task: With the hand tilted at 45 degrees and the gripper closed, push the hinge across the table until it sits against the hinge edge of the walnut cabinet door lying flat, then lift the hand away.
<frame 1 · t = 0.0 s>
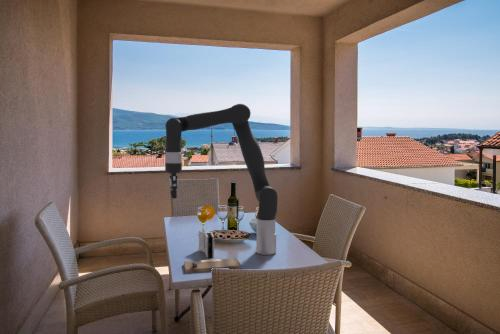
hand: (173, 196, 174), 29 cm above the table, tool pointing down, fingers open, 8 cm apart
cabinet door: (212, 266, 166), on the table
chinaware: (261, 233, 223), on the table
hinge: (206, 254, 184), on the table
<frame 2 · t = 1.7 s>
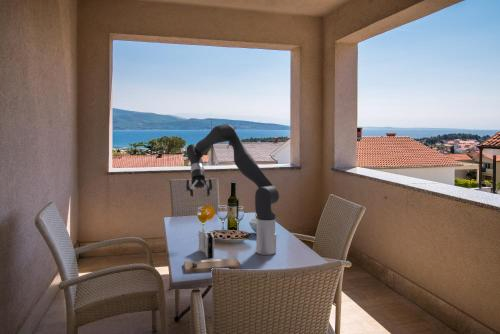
hand: (200, 195, 204), 25 cm above the table, tool tilted 45°, fingers open, 8 cm apart
nothing on the table moved.
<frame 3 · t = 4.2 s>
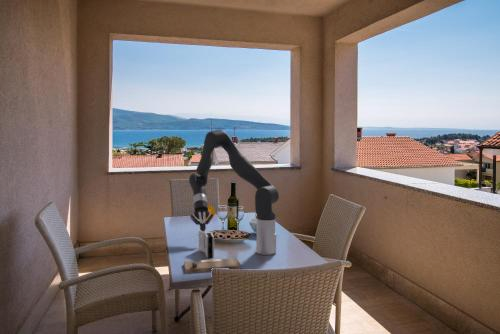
hand: (203, 230, 198), 8 cm above the table, tool tilted 45°, fingers closed
nothing on the table moved.
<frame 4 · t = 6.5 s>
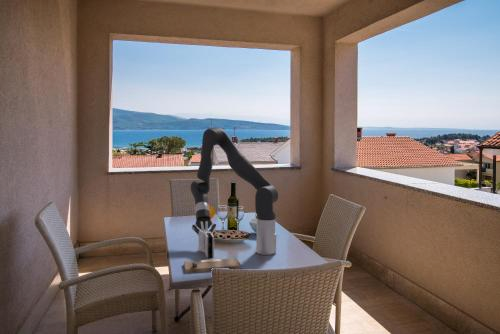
hand: (205, 241, 188), 5 cm above the table, tool tilted 45°, fingers closed
hinge: (206, 254, 184), on the table, touching gripper
everything else where it was.
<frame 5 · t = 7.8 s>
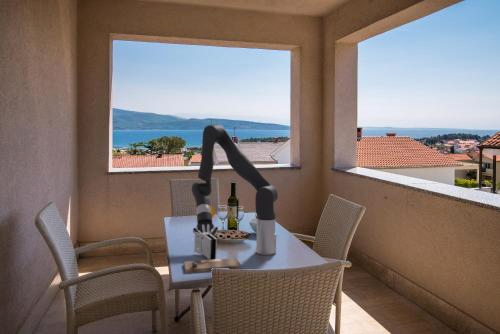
hand: (207, 245, 181), 5 cm above the table, tool tilted 45°, fingers closed
hinge: (205, 255, 180), on the table, touching gripper
everything else where it was.
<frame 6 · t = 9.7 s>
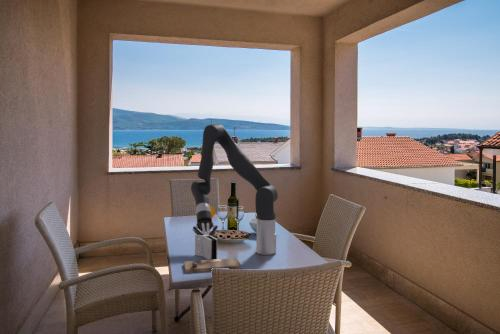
hand: (206, 243, 182), 5 cm above the table, tool tilted 45°, fingers closed
hinge: (206, 258, 178), on the table
everything else where it was.
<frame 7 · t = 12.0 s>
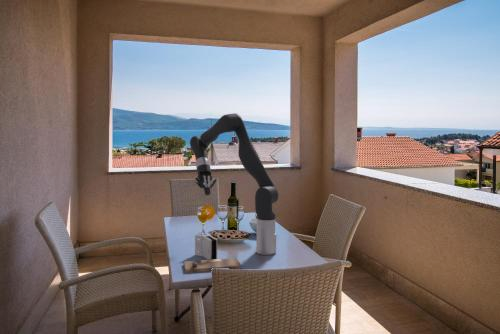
hand: (207, 194, 201), 26 cm above the table, tool tilted 35°, fingers closed
nothing on the table moved.
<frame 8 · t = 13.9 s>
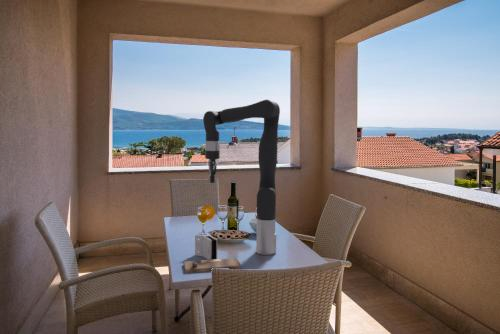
hand: (212, 182, 198), 33 cm above the table, tool pointing down, fingers closed
nothing on the table moved.
at the end: hinge inside the target area (1.5 cm from its centre), on the table; hinge tilted 0°; hinge moved 5.9 cm from its start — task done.
